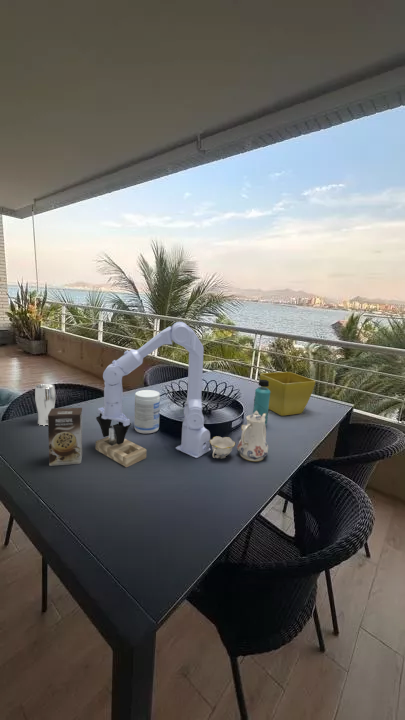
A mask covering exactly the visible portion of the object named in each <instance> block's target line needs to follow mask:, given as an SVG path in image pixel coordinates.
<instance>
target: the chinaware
mask: <svg viewBox="0 0 405 720" xmlns="http://www.w3.org/2000/svg"><path fill="white" fill-rule="evenodd" d="M265 416H266V413H263V415H262V417H261V416H260V415H259V413H258V411H255V412H254V414H253V413H251V414H249V415H246V424H241V427H240V428H241V435H240V439H239V441H238V444H237V446H236V449H237V451H238V453H239V456H240V457H241V458H242V459H244V460H246V461H249V462H261V461H263V460H264V459H265V457H266V456H268V453H269V452H268V451H269V448H270V447H269V445H268V443H267V441H266V439H267V428H266V425H265ZM209 442H210V446H211V448H212V450H211V451H212V458H214V459H215V458H216V459H225V458H226V459H227V457H226V456H228V455H230V454H231V452H232V450H233V448H234V447H235V445H236V441H234V440H232V438H231V437H229V436H223V437H221V436H219V435H218V436H217V435H216V436H213V437H212V438H210V440H209ZM215 454H216V455H215Z"/></svg>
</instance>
